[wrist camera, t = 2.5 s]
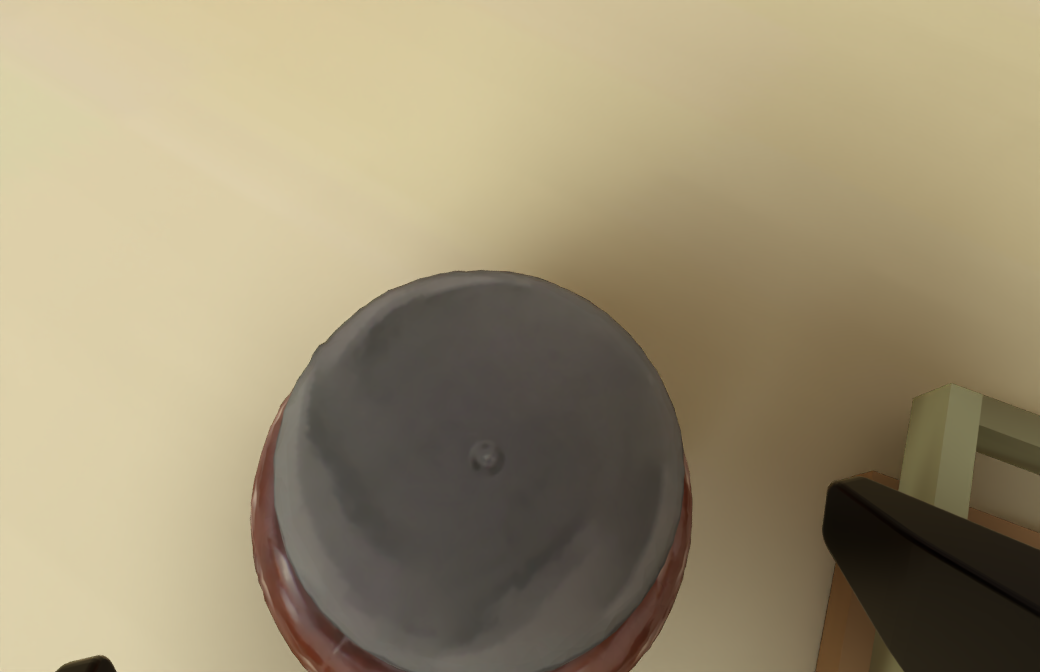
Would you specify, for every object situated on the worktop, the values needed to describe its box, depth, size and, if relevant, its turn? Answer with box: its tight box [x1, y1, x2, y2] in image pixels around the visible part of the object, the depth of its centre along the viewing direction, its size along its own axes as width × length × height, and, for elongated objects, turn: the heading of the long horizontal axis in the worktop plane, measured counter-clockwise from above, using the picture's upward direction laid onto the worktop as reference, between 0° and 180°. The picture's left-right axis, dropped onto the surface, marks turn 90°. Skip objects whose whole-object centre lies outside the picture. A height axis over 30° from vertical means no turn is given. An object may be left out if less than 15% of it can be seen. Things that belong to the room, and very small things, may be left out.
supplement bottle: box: [250, 270, 692, 672], centre depth 12 cm, size 6×6×11 cm
